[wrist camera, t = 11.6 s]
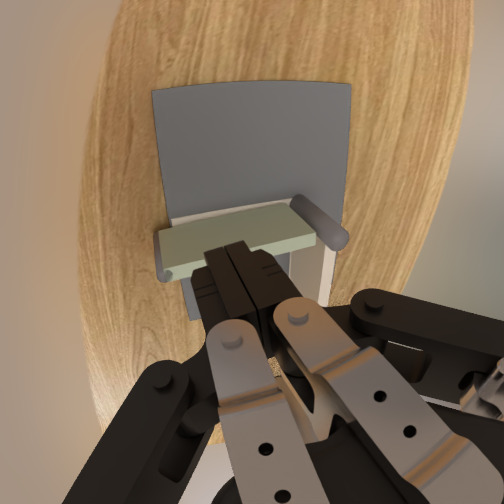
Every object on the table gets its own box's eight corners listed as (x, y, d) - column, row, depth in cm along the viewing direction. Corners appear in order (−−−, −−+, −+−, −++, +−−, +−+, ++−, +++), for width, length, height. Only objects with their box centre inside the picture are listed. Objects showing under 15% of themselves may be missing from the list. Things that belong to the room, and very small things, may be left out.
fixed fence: (300, 293, 36) (330, 336, 30) (285, 297, 36) (313, 342, 30) (307, 193, 29) (350, 227, 23) (289, 195, 29) (329, 231, 23)
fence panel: (285, 203, 28) (316, 232, 24) (285, 214, 29) (315, 245, 24) (151, 232, 25) (155, 271, 21) (154, 243, 26) (159, 284, 21)
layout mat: (330, 283, 38) (332, 285, 37) (189, 318, 33) (190, 321, 33) (348, 84, 25) (351, 84, 24) (151, 90, 20) (151, 90, 20)
